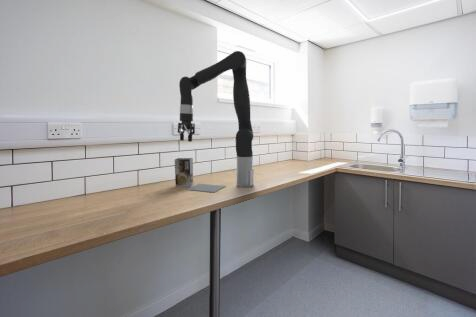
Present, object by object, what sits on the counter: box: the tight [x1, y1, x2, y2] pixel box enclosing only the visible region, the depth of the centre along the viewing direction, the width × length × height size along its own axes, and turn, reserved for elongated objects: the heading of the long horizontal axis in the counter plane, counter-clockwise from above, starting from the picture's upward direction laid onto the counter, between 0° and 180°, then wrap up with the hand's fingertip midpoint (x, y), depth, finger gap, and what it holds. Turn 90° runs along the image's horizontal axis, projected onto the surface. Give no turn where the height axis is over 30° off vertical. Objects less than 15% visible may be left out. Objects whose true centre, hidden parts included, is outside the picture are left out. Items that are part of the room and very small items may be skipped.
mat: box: [185, 183, 227, 193], centre depth 147 cm, size 18×15×1 cm
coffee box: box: [174, 157, 194, 188], centre depth 152 cm, size 9×6×16 cm
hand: (185, 141), depth 154 cm, fingers open, 8 cm apart
